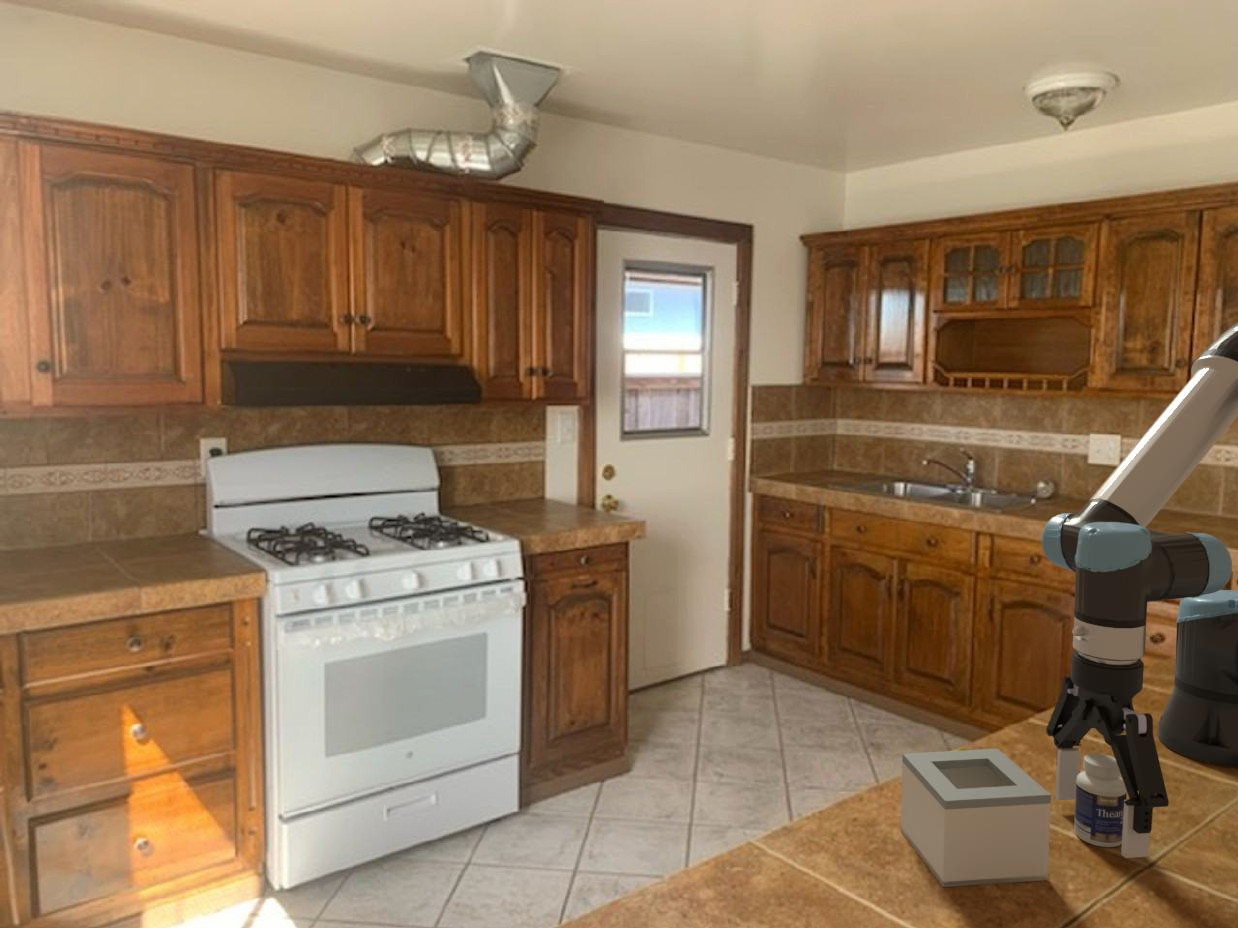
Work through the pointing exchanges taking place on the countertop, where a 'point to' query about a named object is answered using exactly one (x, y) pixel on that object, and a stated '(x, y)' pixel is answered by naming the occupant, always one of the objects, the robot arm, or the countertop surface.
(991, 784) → the drop box
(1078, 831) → the pill bottle
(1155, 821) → the countertop surface
